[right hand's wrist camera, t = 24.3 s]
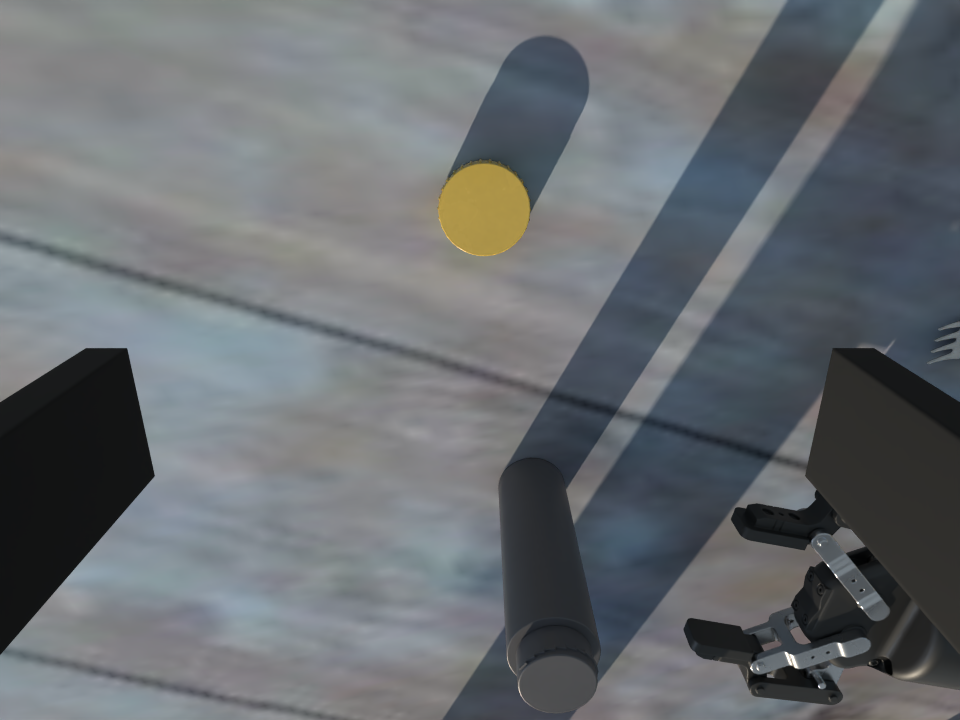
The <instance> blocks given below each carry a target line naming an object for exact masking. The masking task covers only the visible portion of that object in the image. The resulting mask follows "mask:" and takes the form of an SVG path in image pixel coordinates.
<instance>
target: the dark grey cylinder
mask: <svg viewBox="0 0 960 720" xmlns="http://www.w3.org/2000/svg"><path fill="white" fill-rule="evenodd" d="M499 509H500V529H501V550H502V571H503V592H504V613H505V634H506V655H507V661H508V664H509V666H510V668H511V670H512V671H513V672H514V674H515V675H516V676H517V683H518V690H519V693H520V695H521V697H522V698H523V700H524V701H525V702H526V703H527V704H528V705H530V706H531V707H533V708H535V709H537V710H539V711H543V712H547V713H565V712H570V711H573V710H575V709H578V708H580V707H582V706H583V705H585V704H586V703H587V702H588V701H589V700H590V699H591V698H592V697H593V695H594V693H595V691H596V688H597V674H598V668H597V664H598V661H599V659H600V653H601V649H600V642H599V638H598V633H597V629H596V624H595V620H594V615H593V611H592V606H591V602H590V597H589V593H588V588H587V583H586V579H585V574H584V570H583V565H582V561H581V556H580V552H579V547H578V543H577V538H576V533H575V529H574V524H573V520H572V515H571V511H570V506H569V502H568V497H567V493H566V488H565V484H564V479H563V476H562V474H561V473H560V471H559V470H558V469H557V468H556V467H555V466H554V465H553V464H551V463H549V462H547V461H545V460H542V459H536V458H529V459H523V460H520V461H517V462H515V463H513V464H512V465H510V466H509V467H508V468H507V469H506V470H505V471H504V472H503V474H502V476H501V478H500V481H499Z"/></svg>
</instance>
